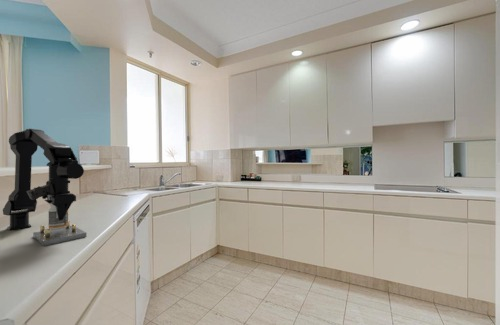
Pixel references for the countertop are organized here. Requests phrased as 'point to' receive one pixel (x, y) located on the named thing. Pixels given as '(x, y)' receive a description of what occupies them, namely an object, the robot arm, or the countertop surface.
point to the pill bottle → (56, 219)
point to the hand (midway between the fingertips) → (58, 218)
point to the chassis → (58, 234)
